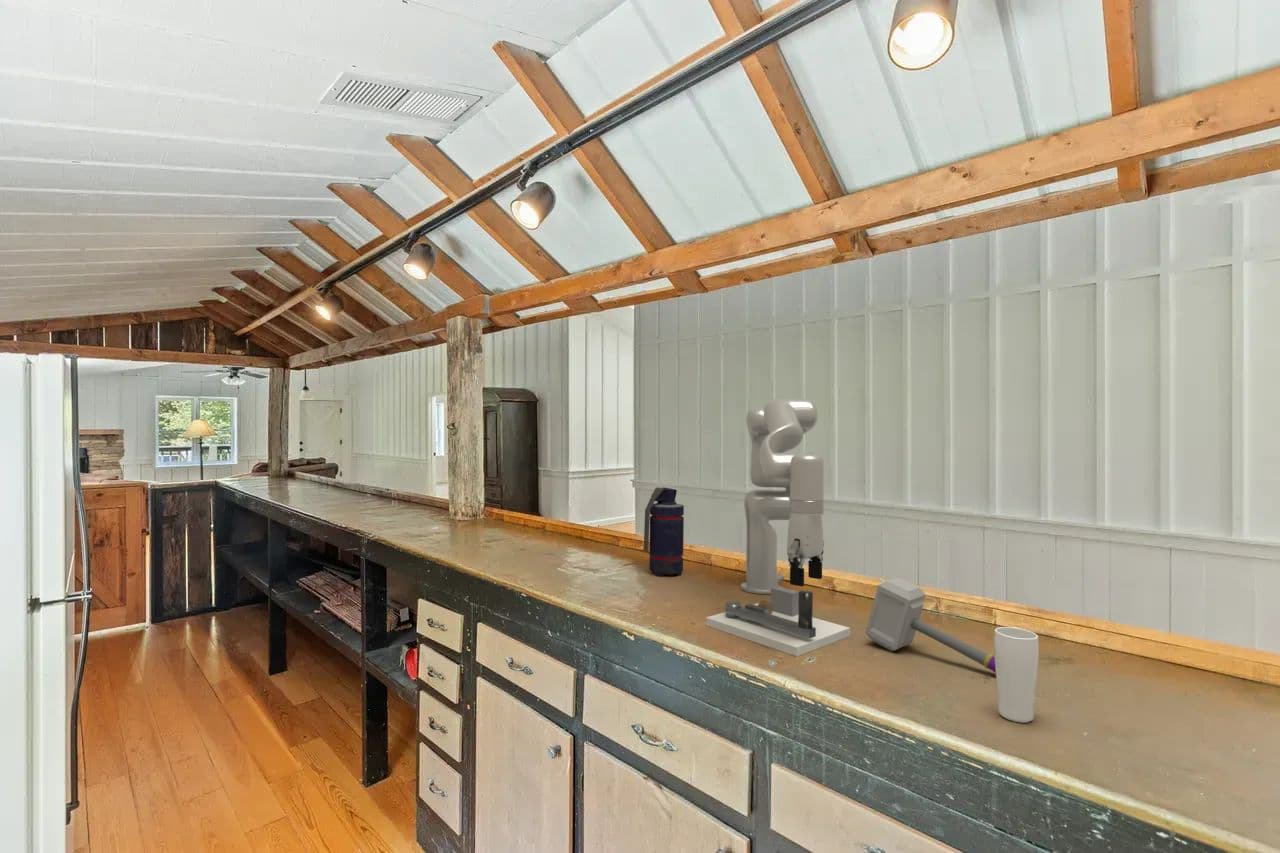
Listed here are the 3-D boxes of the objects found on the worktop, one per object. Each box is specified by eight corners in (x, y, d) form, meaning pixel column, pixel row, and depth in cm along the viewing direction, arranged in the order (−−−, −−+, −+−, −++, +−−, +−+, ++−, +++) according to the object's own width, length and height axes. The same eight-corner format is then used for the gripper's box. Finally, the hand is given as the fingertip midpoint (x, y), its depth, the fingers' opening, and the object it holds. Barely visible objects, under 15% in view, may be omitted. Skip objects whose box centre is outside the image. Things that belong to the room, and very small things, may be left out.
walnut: (753, 616, 159) (754, 600, 159) (763, 613, 162) (763, 597, 162) (766, 619, 156) (766, 604, 156) (776, 616, 159) (776, 601, 159)
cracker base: (705, 625, 159) (706, 594, 159) (760, 609, 173) (760, 581, 173) (796, 656, 138) (797, 620, 138) (850, 636, 152) (850, 603, 152)
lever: (722, 614, 160) (722, 574, 160) (735, 610, 163) (735, 571, 164) (807, 641, 140) (808, 595, 140) (820, 636, 144) (821, 591, 144)
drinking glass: (985, 708, 113) (985, 626, 113) (1020, 707, 113) (1020, 626, 113) (1010, 726, 106) (1011, 639, 106) (1047, 725, 106) (1048, 638, 106)
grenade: (675, 568, 224) (676, 486, 224) (688, 576, 212) (689, 489, 212) (639, 570, 219) (640, 486, 220) (650, 578, 208) (651, 490, 208)
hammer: (1032, 637, 126) (895, 574, 148) (1019, 645, 121) (879, 579, 143) (1011, 702, 129) (880, 631, 151) (997, 713, 124) (863, 638, 146)
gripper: (807, 503, 152) (807, 573, 152) (774, 509, 139) (774, 585, 138) (837, 506, 147) (836, 578, 147) (805, 512, 134) (805, 591, 134)
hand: (806, 581), depth 143 cm, fingers open, 9 cm apart
